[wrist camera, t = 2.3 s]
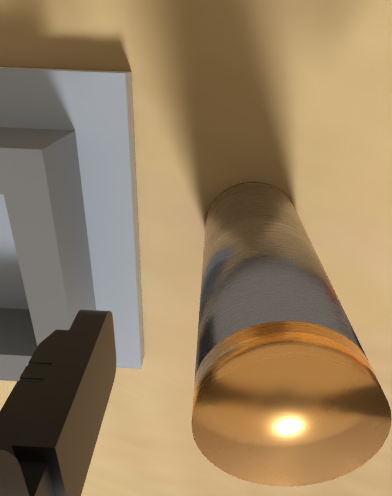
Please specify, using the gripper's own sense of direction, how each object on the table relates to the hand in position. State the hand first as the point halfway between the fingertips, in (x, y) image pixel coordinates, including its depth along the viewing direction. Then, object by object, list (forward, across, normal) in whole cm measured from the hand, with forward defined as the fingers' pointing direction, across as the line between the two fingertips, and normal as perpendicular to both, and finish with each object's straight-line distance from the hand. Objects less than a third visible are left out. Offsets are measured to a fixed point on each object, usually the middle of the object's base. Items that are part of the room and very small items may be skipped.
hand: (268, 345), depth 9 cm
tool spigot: (+8, 0, 0) cm, 8 cm away
